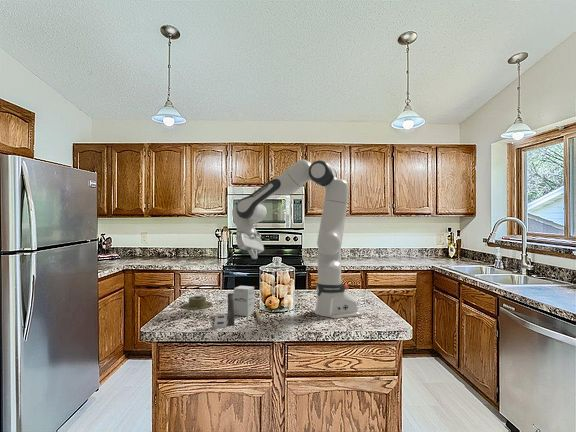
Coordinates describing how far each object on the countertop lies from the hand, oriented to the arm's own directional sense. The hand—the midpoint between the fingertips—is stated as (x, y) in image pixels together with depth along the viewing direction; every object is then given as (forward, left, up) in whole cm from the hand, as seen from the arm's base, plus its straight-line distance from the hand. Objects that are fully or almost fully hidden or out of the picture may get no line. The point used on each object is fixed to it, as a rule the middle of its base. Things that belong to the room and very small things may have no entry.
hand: (254, 258), depth 177 cm
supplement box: (+6, +8, -25) cm, 27 cm away
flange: (+29, -11, -26) cm, 40 cm away
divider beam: (+6, +15, -25) cm, 30 cm away
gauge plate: (+16, +20, -25) cm, 36 cm away
